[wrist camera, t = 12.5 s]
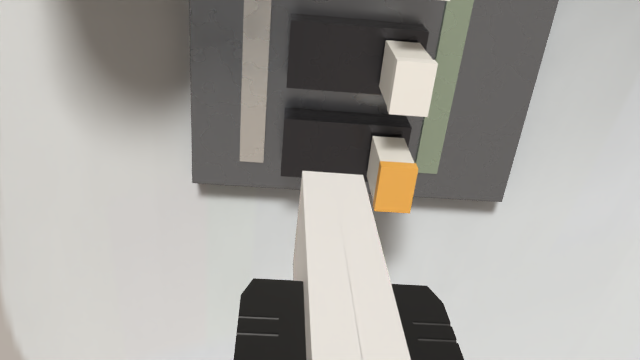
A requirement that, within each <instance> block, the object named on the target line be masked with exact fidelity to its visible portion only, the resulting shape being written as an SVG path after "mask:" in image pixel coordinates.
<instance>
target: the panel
mask: <svg viewBox="0 0 640 360" xmlns="http://www.w3.org/2000/svg"><path fill="white" fill-rule="evenodd" d="M558 1H559V0H450V1H445V0H189V12H190V70H191V128H192V183H202V184H218V185H235V186H251V187H267V188H284V189H301V179H302V171H314V172H328V173H342V174H356V175H363V177H364V180H365V184H366V188H367V192H368V194H371V191H370V187H369V183H368V179H367V170H368V163H369V157H370V150H371V143H372V136H380V137H395V138H404V139H405V142H406V144H407V146H408V149H409V151H410V153H411V156H412V158H413V160H414V163H416V164H417V167H418V174H417V179H416V184H415V189H414V194H413V196H415V197H431V198H448V199H464V200H481V201H497V202H502V199H503V195H504V192H505V188H506V185H507V181H508V178H509V174H510V171H511V167H512V164H513V160H514V156H515V153H516V149H517V146H518V142H519V139H520V135H521V132H522V128H523V125H524V121H525V118H526V114H527V110H528V107H529V103H530V100H531V96H532V93H533V89H534V86H535V82H536V79H537V75H538V72H539V68H540V64H541V61H542V57H543V54H544V50H545V47H546V43H547V40H548V36H549V33H550V29H551V25H552V22H553V18H554V15H555V11H556V8H557V4H558ZM386 40H390V41H402V42H414V43H420V44H421V45H422V46H423V47H424V49H425V50H426V51H427V53H428V54H429V55H430V56H431V58H432V59H433V60H435V61H436V62H437V63H438V67H437V72H436V77H435V82H434V87H433V92H432V98H431V103H430V108H429V113H428V117H420V116H406V115H392V114H388V111H387V105H386V103H385V100H384V98H383V95H382V93H381V91H380V88H379V83H380V76H381V69H382V63H383V56H384V49H385V42H386Z"/></svg>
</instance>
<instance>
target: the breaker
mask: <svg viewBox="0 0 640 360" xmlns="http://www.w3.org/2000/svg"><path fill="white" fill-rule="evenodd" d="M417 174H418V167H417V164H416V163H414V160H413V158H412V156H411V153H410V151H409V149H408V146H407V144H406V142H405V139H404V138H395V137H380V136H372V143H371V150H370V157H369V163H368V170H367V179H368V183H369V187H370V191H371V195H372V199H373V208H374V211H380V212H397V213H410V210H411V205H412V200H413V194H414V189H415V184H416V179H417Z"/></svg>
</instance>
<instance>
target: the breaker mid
mask: <svg viewBox="0 0 640 360" xmlns="http://www.w3.org/2000/svg"><path fill="white" fill-rule="evenodd" d="M437 67H438V63H437V62H436V61H435V60H433V59H432V58H431V56H430V55H429V54H428V53H427V51H426V50H425V49H424V47H423V46H422V45H421V44H420V43H414V42H402V41H390V40H386V42H385V49H384V56H383V63H382V69H381V76H380V83H379V88H380V91H381V93H382V95H383V98H384V100H385V103H386V105H387V111H388V114H392V115H406V116H420V117H428V113H429V108H430V103H431V98H432V92H433V87H434V82H435V77H436V72H437Z"/></svg>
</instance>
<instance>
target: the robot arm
mask: <svg viewBox="0 0 640 360" xmlns="http://www.w3.org/2000/svg"><path fill="white" fill-rule="evenodd" d="M234 360H464V358H463V356H462V353H461V350H460V347H459V345H458V343H456V337H455V334H454V331H453V328H452V327H450V320H449V318H448V315H447V312H446V310H445V307H444V304H443V303H442V301H441V300H440V299H439V298H438V297H437V296H436V295H435V294H434V293H433V292H432V291H431V290H430V289H429V287H428V286H419V285H400V284H391V281H390V277H389V273H388V269H387V266H386V262H385V258H384V254H383V250H382V246H381V242H380V238H379V235H378V231H377V227H376V223H375V219H374V215H373V211H372V208H371V204H370V200H369V196H368V192H367V188H366V184H365V180H364V177H363V175H356V174H342V173H328V172H314V171H302V179H301V189H300V199H299V209H298V218H297V228H296V238H295V248H294V258H293V281H291V280H272V279H253V280H252V281H251V282H250V284H249V285H248V286H247V288H246V289H245V290H244V292H243V293H242V294H241V300H240V309H239V319H238V326H237V336H236V344H235V353H234Z"/></svg>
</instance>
